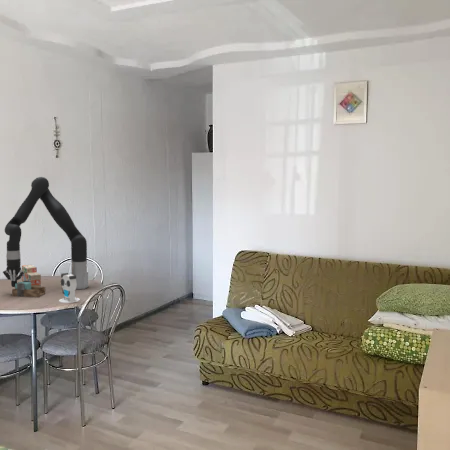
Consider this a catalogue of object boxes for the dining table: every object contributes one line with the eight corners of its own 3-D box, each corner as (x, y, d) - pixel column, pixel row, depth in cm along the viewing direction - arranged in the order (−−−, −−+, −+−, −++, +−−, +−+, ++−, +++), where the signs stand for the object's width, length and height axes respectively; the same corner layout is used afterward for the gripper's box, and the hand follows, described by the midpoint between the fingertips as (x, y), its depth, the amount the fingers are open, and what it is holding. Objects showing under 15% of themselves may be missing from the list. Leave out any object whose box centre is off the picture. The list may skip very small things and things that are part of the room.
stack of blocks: (41, 289, 298) (40, 269, 297) (30, 290, 294) (30, 270, 293) (32, 282, 315) (31, 264, 314) (22, 283, 312) (21, 265, 310)
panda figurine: (55, 299, 273) (54, 273, 271) (73, 296, 281) (73, 271, 279) (64, 304, 264) (64, 277, 263) (83, 300, 272) (83, 274, 271)
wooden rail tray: (45, 293, 286) (44, 281, 285) (38, 297, 278) (38, 284, 277) (19, 292, 288) (19, 280, 287) (12, 296, 279) (12, 283, 279)
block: (31, 292, 285) (31, 282, 285) (26, 294, 280) (26, 284, 279) (20, 291, 286) (19, 281, 285) (15, 293, 281) (15, 283, 280)
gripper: (27, 257, 285) (28, 285, 286) (6, 256, 286) (6, 285, 288) (21, 259, 277) (21, 288, 279) (-1, 258, 278) (0, 287, 280)
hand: (14, 286), depth 283 cm, fingers closed
